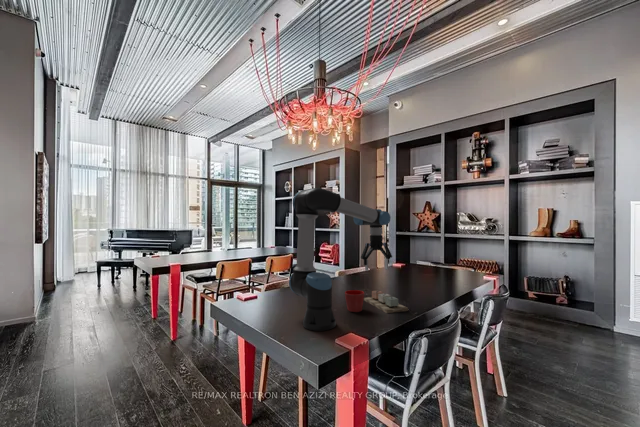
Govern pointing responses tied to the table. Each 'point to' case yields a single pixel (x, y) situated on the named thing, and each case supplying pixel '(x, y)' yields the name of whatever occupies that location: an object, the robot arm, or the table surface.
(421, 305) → the table surface
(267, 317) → the table surface
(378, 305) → the button board
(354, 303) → the flower pot
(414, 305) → the table surface
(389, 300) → the tile
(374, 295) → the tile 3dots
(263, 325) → the table surface
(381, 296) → the tile
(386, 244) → the robot arm
